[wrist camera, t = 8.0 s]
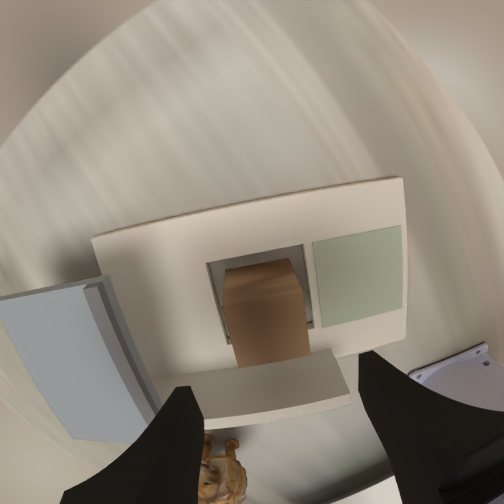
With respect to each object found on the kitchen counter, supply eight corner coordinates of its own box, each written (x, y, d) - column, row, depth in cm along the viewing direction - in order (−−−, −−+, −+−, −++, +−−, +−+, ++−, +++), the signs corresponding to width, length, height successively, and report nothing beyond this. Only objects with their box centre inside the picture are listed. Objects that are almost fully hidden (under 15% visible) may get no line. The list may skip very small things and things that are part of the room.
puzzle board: (396, 176, 19) (447, 187, 13) (400, 333, 22) (434, 376, 17) (95, 235, 19) (51, 264, 14) (150, 380, 23) (133, 432, 17)
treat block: (287, 257, 20) (302, 290, 15) (296, 312, 21) (310, 355, 16) (225, 269, 20) (221, 306, 15) (238, 323, 21) (238, 368, 16)
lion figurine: (199, 403, 23) (188, 494, 15) (258, 419, 24) (265, 507, 16) (162, 478, 27) (151, 542, 19) (206, 489, 28) (203, 553, 20)
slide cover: (108, 274, 13) (97, 286, 12) (178, 433, 17) (175, 449, 15) (1, 296, 14) (-13, 306, 12) (76, 431, 17) (70, 444, 16)
